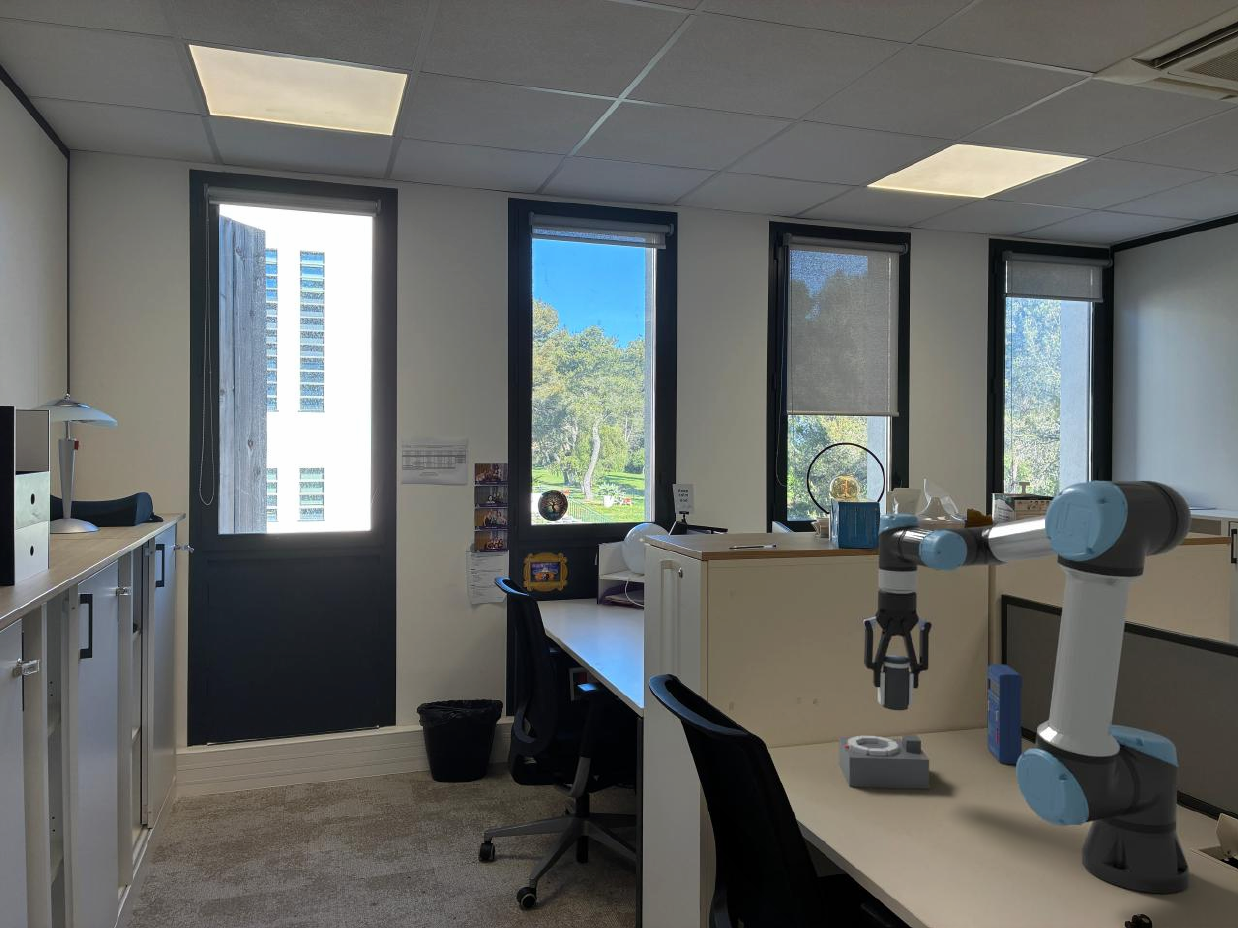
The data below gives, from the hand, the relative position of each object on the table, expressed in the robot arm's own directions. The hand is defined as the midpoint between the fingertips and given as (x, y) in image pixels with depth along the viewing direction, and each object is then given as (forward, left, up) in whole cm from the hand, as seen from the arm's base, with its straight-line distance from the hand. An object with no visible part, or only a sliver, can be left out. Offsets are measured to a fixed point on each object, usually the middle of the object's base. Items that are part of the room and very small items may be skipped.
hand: (895, 702), depth 180 cm
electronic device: (+22, -29, -18) cm, 41 cm away
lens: (0, 0, -1) cm, 1 cm away
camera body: (+7, +1, -18) cm, 19 cm away
